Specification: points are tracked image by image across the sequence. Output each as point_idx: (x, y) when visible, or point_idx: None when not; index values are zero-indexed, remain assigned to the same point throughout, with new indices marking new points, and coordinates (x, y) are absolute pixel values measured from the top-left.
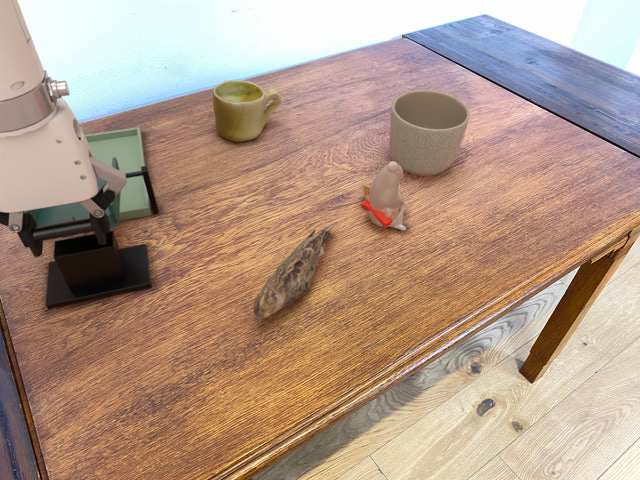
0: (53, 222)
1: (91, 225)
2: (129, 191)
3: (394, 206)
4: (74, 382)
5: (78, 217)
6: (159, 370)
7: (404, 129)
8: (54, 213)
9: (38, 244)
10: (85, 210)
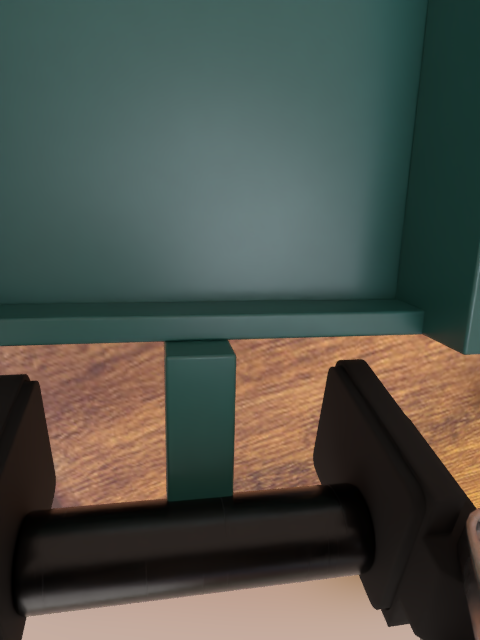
0: (51, 158)
1: (361, 579)
2: None
3: None
4: (115, 431)
5: (208, 159)
6: (281, 437)
7: None
8: (29, 6)
9: (41, 504)
10: (245, 67)
